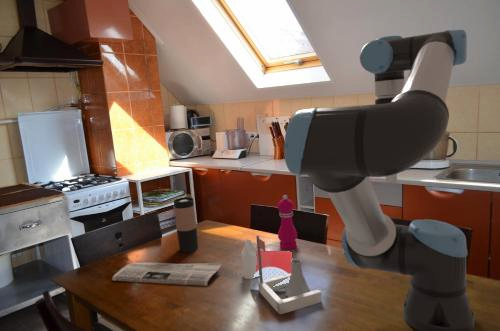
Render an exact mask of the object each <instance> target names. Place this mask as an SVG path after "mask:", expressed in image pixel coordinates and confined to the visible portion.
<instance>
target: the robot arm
mask: <svg viewBox="0 0 500 331" xmlns="http://www.w3.org/2000/svg"><path fill="white" fill-rule="evenodd" d="M467 41H468V39H467V32H466V31H465V30H464V29H450V30H449V29H448V30H447V29H446V30H444V31H439V32H432V33H425V34H421V35H415V36H407V37H403V36H401V35H389V36H382V37H379V38H376V39H374V40H371V41H369V42H367V43H366V44H365V45H364V46H363V47H362V49H361V51H360V53H359V54H360V55H359V62H360V63H359V64H360V65H361V67H362V68H363V69H364V70H365V71H367V72H368V73H370V74H373V75H374V96H375V97H377V98H376V99H375V100H374V104H364V105H362V104H361V105H351V106H338V107H336V106H335V107H321V108H318V107H316V106H314V107H313V108H307V109H300V110H297V111H296V112H295V113H293V115H292V116H291V118H290V119H289V122H288V123H287V124H288V125H287V126H286V131H285V136H284V145H283V146H284V147H283V148H284V149H283V152H284V154H283V155H284V161H285V164H286V167H287V170H288V171H289V172H290V173H291V174H293V175H297V176H302V175H307V176H308V177H309V179H310V181H311V183H312V184H313V186H315V188H317V189H318V190H320V191H321V192H324V193H327V195H328V196H329V198H330V200H331V202H332V204H333V206H334V208H335V209H336V211H337V213H338V214H339V217H340V218H341V221H342V222H343V224H344V225H345V226H344V228H343V232H342V238H341V245H342V246H341V247H342V249H343V250H342V251H343V252H342V253H343V256H344V258H345V260H346V262H347V263H349V264H350V265H351V266H353V267H356V268H359V269H364V270H366V269H369V270H373V271H381V272H387V273H392V274H393V273H394V274H398V275H404V276H409V277H410V286H409V288H408V291H407V293H406V294H407V295H406V297H405V300H404V302H403V306H402V310H403V311H402V315H403V319H404V320H405V322H406V323H407V324H408V325H409V326H410V327H411V328H413V329H415V330H416V331H474V330H475V322H476V321H475V320H476V318H475V314H474V312H473V310H472V308H471V305H470V301H469V298H468V295H467V256H468V249H467V239H466V238H467V237H466V235H465V234H464V232H463V231H462V230H461V229H460V228H458V227H456V226H455V225H453V224H450V223H448V222H444V221H441V220H437V219H436V220H435V219H430V218H429V219H428V218H424V219H414V220H412V221H411V222H410V224H409V225H404V224H395V223H394V221H393V220H392V218H391V217H390V216H388V215H387V214H385V213H384V212H383V210H382V207H381V205H380V202H379V200H378V198H377V194H376V192H375V189H374V187H373V184H372V181H371V179H370V178H383V177H385V182H386V183H389V184H397V183H398V174H400V173H402V172H403V173H404V172H405V171H406V170H408V169H410V168H412V167H414V166H416V165H417V164H418V163H420V162H422V161H423V160H424V159H425V158H427V157H428V156H429V155H430V154H431V152H433V151H434V150H435V149H436V147H437V146H438V145H439V143H441V141H442V140H443V138H444V136H445V134H446V132H447V128H448V125H449V119H450V111H449V107H448V105H447V103H446V101H447V96H448V91H449V86H450V80H451V78H452V77H451V76H452V72H453V67H455V66H458V65H463V64H465V63H466V62H467V55H468V54H467V51H468V50H467V47H468V46H467V44H468V42H467ZM405 71H409V73H408V75H407V78H406V79H405Z"/></svg>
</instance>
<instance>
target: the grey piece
mask: <svg viewBox="0 0 500 331" xmlns="http://www.w3.org/2000/svg"><path fill="white" fill-rule="evenodd" d="M257 251H258V250H257V246H256V245H255V244H254V243H253V242H252V240H251V239H248V238H247V239H246V240H245V241H244V246H243V249H242V251H241V253H240V259H241V268H242V275H243V278H244V279H245V280H246V279H247V280H254V279H253V277H254V274H255V272H256V265H257V256H256V252H257Z"/></svg>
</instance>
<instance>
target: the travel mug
mask: <svg viewBox="0 0 500 331" xmlns="http://www.w3.org/2000/svg"><path fill="white" fill-rule="evenodd" d="M173 206H174V216H175V226H176V232H177V240H178V247H179V251H180V252H182V253H192V252H195V251H197V250H198V249H199V242H198V230H197V229H198V228H197V227H198V226H197V221H196V220H197V219H196V211H195V202H194V198H193V197H190V196H188V197H179V198H176V199H174V200H173Z"/></svg>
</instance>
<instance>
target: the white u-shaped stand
mask: <svg viewBox="0 0 500 331" xmlns="http://www.w3.org/2000/svg"><path fill="white" fill-rule="evenodd" d="M265 244H266V242H265V241H264V239H263V238H261V237H260V235H256V249H257V250H258V262H259V275H260V276H259V281H258V282H257V283H258V285H257V286H258V292H259V293H260V295H262V296H263V298H264V299H265V300H266V301H267V302H268V303H269V304H270V306H272V308H273V309H274V310H275V312H277V313H278V315H283V314H287V313H291V312H293V311H296V310H300V309H303V308H307V307H309V306H313V305H317V304H320V303H322V300H323V299H322V291H321V290H320V289H315V290H312V291H311V290H310V292H307V293H304V294H300V295H297V296H293V297H290V298H288V297H287V298H284V299H282V298H280V296H278V294H276V292H275V290H280V289H282V288H287V287H288V284H289V283H286V284H282V285H279V286H275V285H276V284H278V283H280V282H282V281H283V280H285V279H287V278H288V277H291V272H290V273H288V274H289V275H287V276H282V275H279V276H275V277H272V278H268V279H264V278H263V267H262V255H261V250H262V251H263V252H266V245H265ZM273 286H275V287H273Z"/></svg>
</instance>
